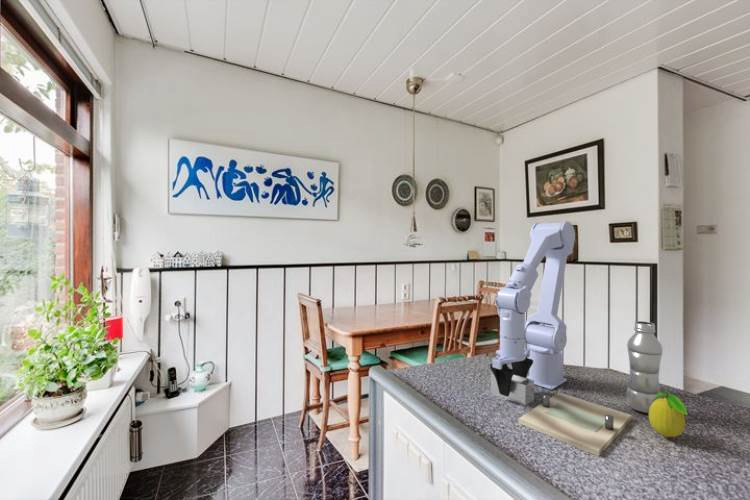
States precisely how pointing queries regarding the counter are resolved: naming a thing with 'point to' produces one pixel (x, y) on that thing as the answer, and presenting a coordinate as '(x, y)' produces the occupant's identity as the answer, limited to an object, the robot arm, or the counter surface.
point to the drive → (516, 389)
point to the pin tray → (576, 422)
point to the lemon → (667, 415)
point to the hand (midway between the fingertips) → (511, 390)
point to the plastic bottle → (643, 367)
